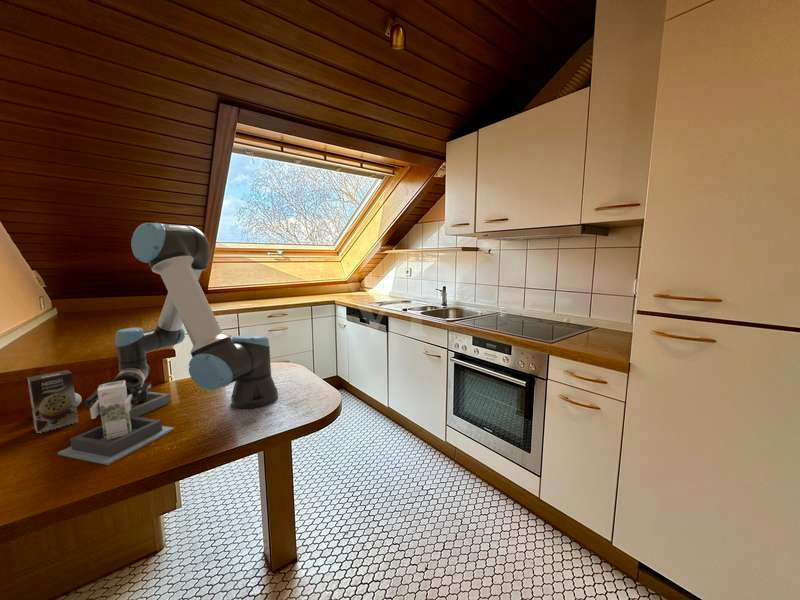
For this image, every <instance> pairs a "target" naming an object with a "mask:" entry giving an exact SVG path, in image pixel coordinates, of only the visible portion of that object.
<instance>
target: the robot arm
mask: <svg viewBox="0 0 800 600" xmlns="http://www.w3.org/2000/svg"><path fill="white" fill-rule="evenodd" d="M130 246H131V251H132V254H133V256H134V257H135V259H137V260H138V261H140V262H142V263H145V264H147V263H148V264H149V267H150V270H151V271H152V273H155V274H157V275H160V277H161V280H162V281H163V283H164V286H165V289H166V290H167V294H166V298H165V301H164V304H163V307H162V309H161V312H160V316H159V318H158V322H157V324H156V326H155V328H153V329H149V330H145V331H144V329H143V328H141V327H129V328H123V329H118V330H117V331H116V332H115V346H116V352H117V358H118V363H117V364H118V371H119V373H118V374H117V375H116V376H115V377H114V379H113V380H112V382H117V381H123V380H125V381H126V388H127V397H128V398H127V399H126V401H125V403H124V406H125V413H127V412H129V411H130V409H131V408H133V406H135V405H136V406H137V404H138V402H140V401H139V400H141V399H142V400H146V399H147V397H148V392H151V390H152V384H151V383H152V382H151V381H146V380H147V378H148V376H149V374H150V366H149V364H148V363H147V353H152V352H154V351H157V350H161V349H164V348H165V349H166V348H168V347H173V346H176V345H178V344H181V343H183V341H184V340H185V337H186V336H185V330H186V333H187V334H188V335H187V336H188V337H189V339H190V341H191V343H192V349H191V350H190V355H191V359H190V360H189V363H188V373H189V376H190V378H191V379H192V381H193V382H194V383H195V384H196V385H197V386H198V387H200V388H201V389H204V390H207V391H215V390H219V389H221V388H226V387H227V386H229V385H230V384H233V383H234V385H233V389H232V394H231V398H230V400H231V403H230V404H231V406H232V407H234V408H236V409H240V410H241V409H242V410H243V409H244V410H246V409H256V408H260V407H264V406H267V405H270V404H272V403H273V402H275V401H277V399H278V398H277V397H279V394H278V393H279V392H278V388H277V387H276V385H275V382H274V379H273V377H272V366H271V354H270V353H271V352H270V348H271V345H270V341H269V338H268V337H267V336H266V335H258V334H247V335H246V334H244V335H243V334H242V335H236V336H233V337H232V338H231V336H229V335H227V334H225V333H223V332H222V331H223V330H222V329H221V327H220V325H219V323H218V321H217V318H216V316H215V314H214V312H213V309H212V308H211V306H210V304H209V302H208V300H207V297H206V295H205V292H204V291H203V289H202V286H201V285H200V282H199V280H200V277H201V274H202V272H203V271H205V270H207V268H208V265H209V262H210V257H211V246H210V243H209V240H208V239H207V236H206V235H205V234H204V233H203V232H202V231H201V230H200V229H198V228H197V227H194V226H192V225H188V224H187V225H186V224H184V225H183V224H172V223H162V222H157V221H156V222H144V223H141V224H139V225H138V226H137V227H136V228H135V230H134V231H133V233H132V237H131V244H130ZM182 326H184V328H185V330H184V328H183V327H182ZM145 381H146V382H145ZM97 390H98V388H96V389H95V390H94V392H93V393H92V394H91V395H90V396H88V397H87V398H86V399H85V400H84V406H85V410H86V411H89V413H90V418H91V420H93V419H96V418H97V417H98V414H99V412H100V406H99V399H98V391H97ZM139 391H141V393H140V394H138V392H139ZM276 398H277V399H276ZM274 400H275V401H274ZM271 402H272V403H271Z"/></svg>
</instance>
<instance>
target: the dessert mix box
mask: <svg viewBox="0 0 800 600" xmlns="http://www.w3.org/2000/svg"><path fill="white" fill-rule="evenodd" d="M27 382H28V383H27V384H28V391H29V397H30V403H31V404H30V405H31V406H30V407H31V412H32V413H31V414H32V421H33V426H34V427H33V428H34V430H35V432H36V433H40V434H43V433H42V432H44V433H47V432H49V430H51V431H54V430H57V429H56V428H58V429H60V427H61V428H64V427H63V426H65V427H67V426H66V425H68V426H71V425H70V424H72V425H74V423H75V424H78V423H80V422H79V416H78V415H79V414H78V408H77V407H78V406H77V407H76V399H75V393H76V392H75V385H74V378H73V373H72V372H71V371H70V370H69V369H65V370H64V369H63V370H60V371H54V372H49V373H44V374H39V375H32V376H27ZM53 429H54V430H53ZM46 431H47V432H46Z"/></svg>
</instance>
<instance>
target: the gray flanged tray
mask: <svg viewBox="0 0 800 600" xmlns="http://www.w3.org/2000/svg"><path fill="white" fill-rule="evenodd" d="M130 420H131V433H129V434H127V435H124V436H122V437H120V438H117V439H113V440H109V441H105V440H104V434H103V427H102V424H101V425H99V426H96V427H94V428H92V429H89V430H87V431H85V432H82V433H80V434H78V435H76V436H73V437H71V438H69V439H70V446H69V447H67V448H64V449H62V450H60V451H57V456H62V457H66V458H72V459H77V460H80V461H81V460H82V461H87V462H92V463H96V464H100V465H105V466H106V465H107V466H109V465H110V464H113V463H114V462H116V461H119V460H120V459H123V458H124V457H126V456H127V455H129V454H131V453H133V452H135V451H136V450H139V449H141V448H143V447H144V446H146V445H148V444H150V443H151V442H154V441H155V440H157V439H159V438H161V437H163V436H165V435H167V434H168V433H170V432H172V431H174V430H175V427H172V426H165V425H163V424H162V419H154V418H150V417H149V418H147V417H141V416H139V417H136V416H130Z"/></svg>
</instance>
